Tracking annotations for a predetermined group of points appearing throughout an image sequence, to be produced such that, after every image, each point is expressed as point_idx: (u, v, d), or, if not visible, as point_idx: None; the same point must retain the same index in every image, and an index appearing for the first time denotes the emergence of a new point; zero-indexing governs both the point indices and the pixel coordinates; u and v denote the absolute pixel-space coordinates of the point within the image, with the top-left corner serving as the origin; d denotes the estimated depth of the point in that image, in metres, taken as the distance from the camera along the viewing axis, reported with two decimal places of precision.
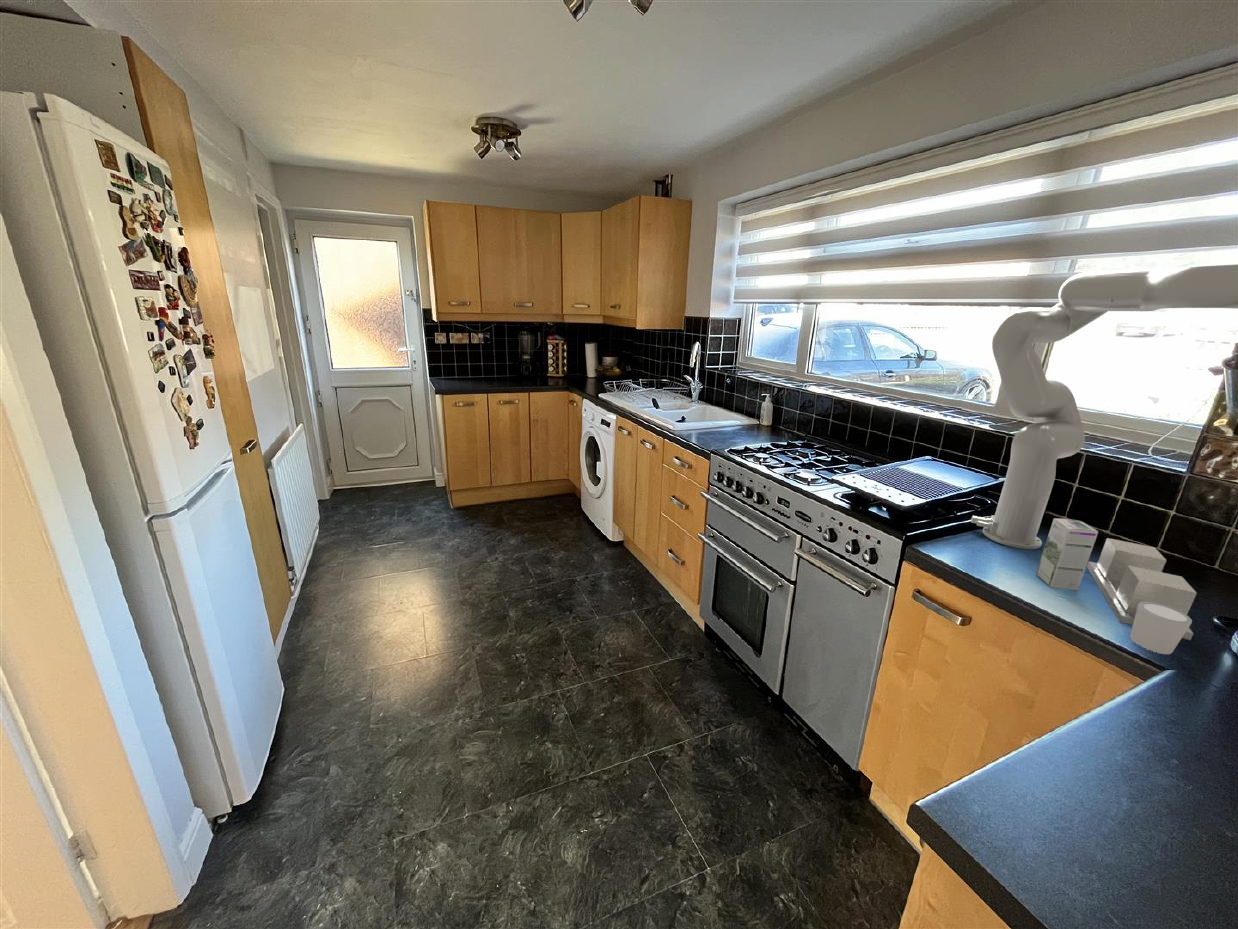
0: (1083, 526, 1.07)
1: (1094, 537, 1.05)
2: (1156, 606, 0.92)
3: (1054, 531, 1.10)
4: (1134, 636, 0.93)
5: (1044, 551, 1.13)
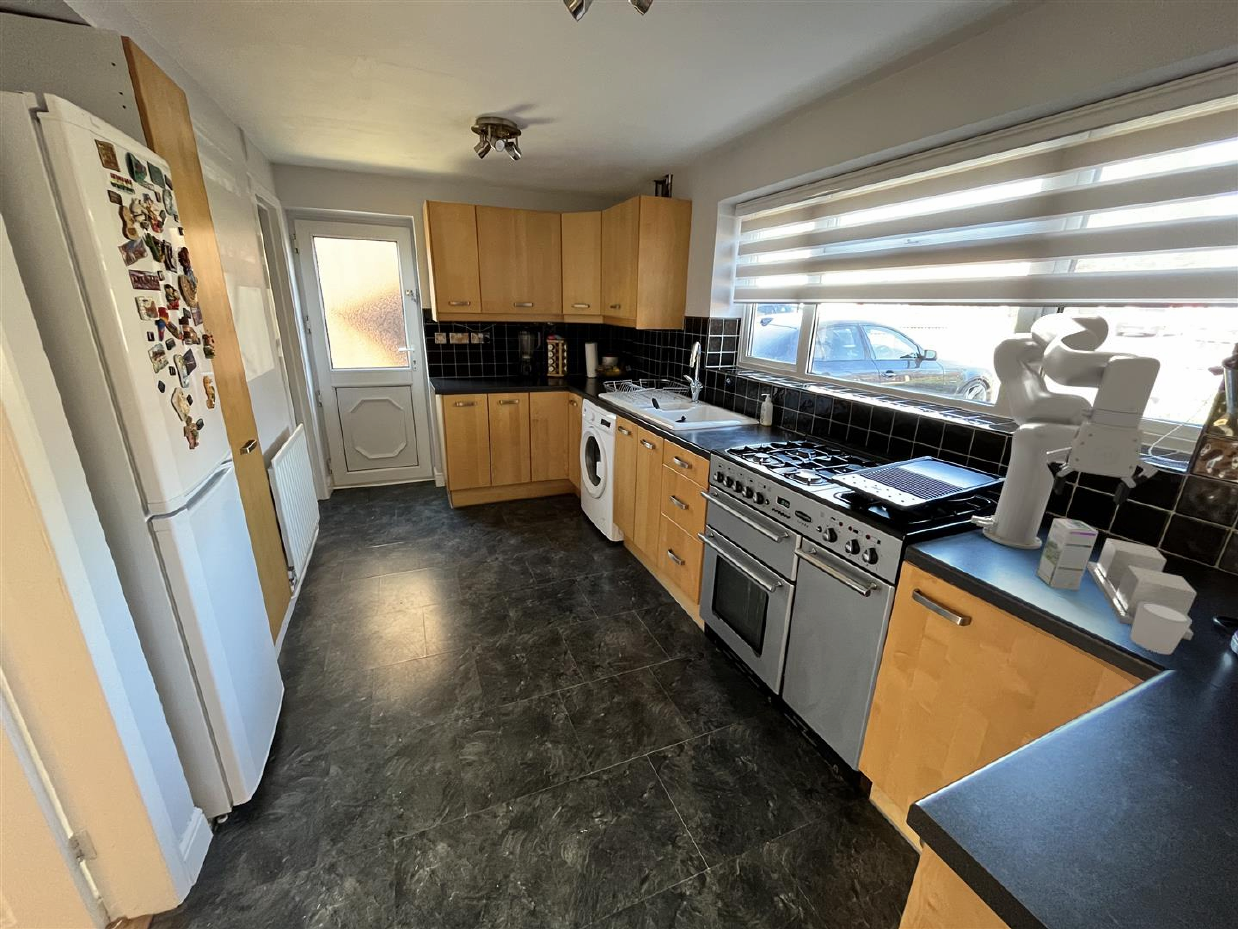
0: (1083, 526, 1.07)
1: (1094, 537, 1.05)
2: (1156, 606, 0.92)
3: (1054, 531, 1.10)
4: (1134, 636, 0.93)
5: (1044, 551, 1.13)
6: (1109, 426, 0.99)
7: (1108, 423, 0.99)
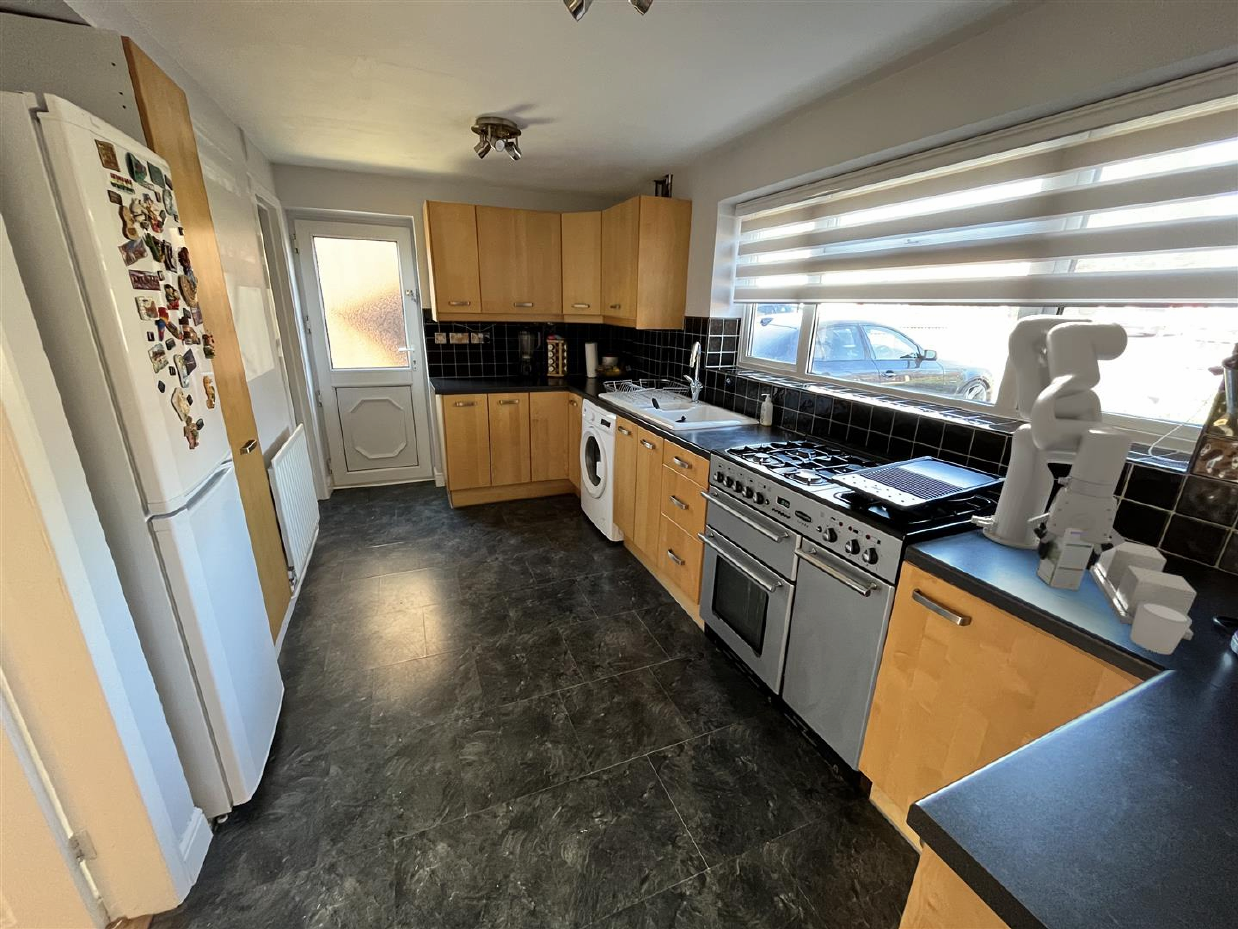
0: None
1: None
2: (1156, 606, 0.92)
3: None
4: (1134, 636, 0.93)
5: None
6: (1084, 496, 1.03)
7: (1083, 493, 1.03)
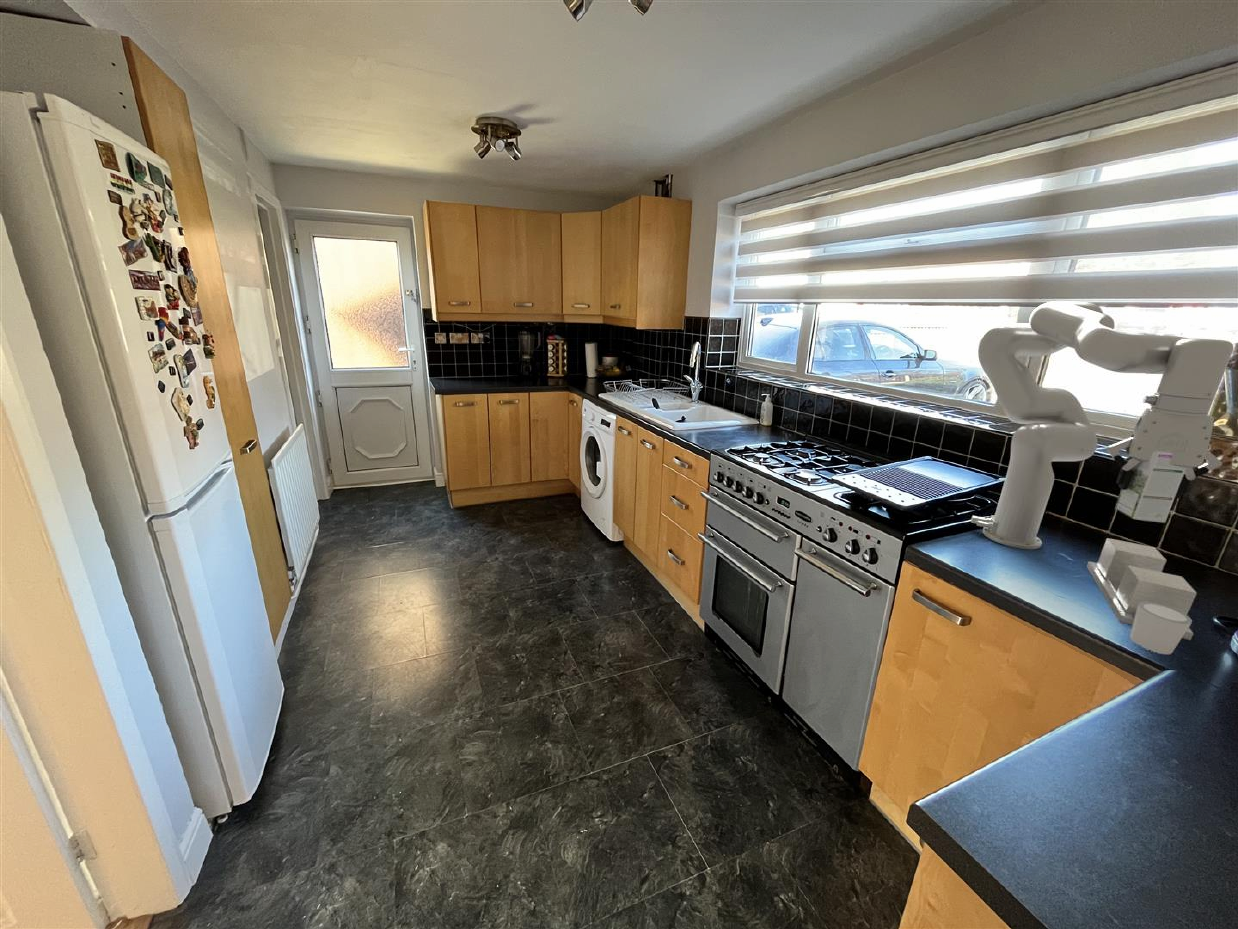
0: None
1: None
2: (1156, 606, 0.92)
3: None
4: (1134, 636, 0.93)
5: None
6: (1176, 413, 0.94)
7: (1174, 409, 0.94)
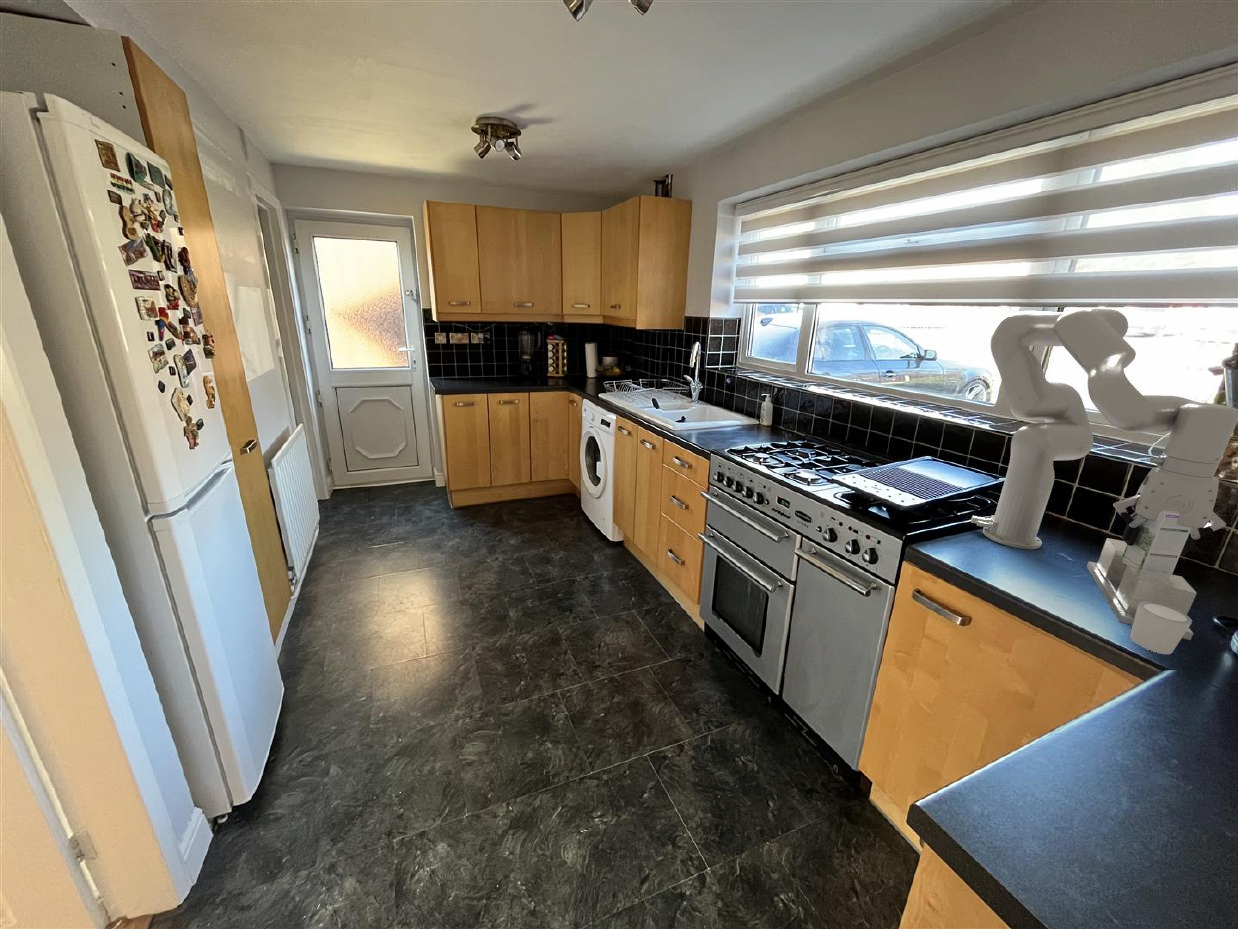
0: None
1: None
2: (1156, 606, 0.92)
3: None
4: (1134, 636, 0.93)
5: None
6: (1183, 475, 0.96)
7: (1182, 472, 0.96)
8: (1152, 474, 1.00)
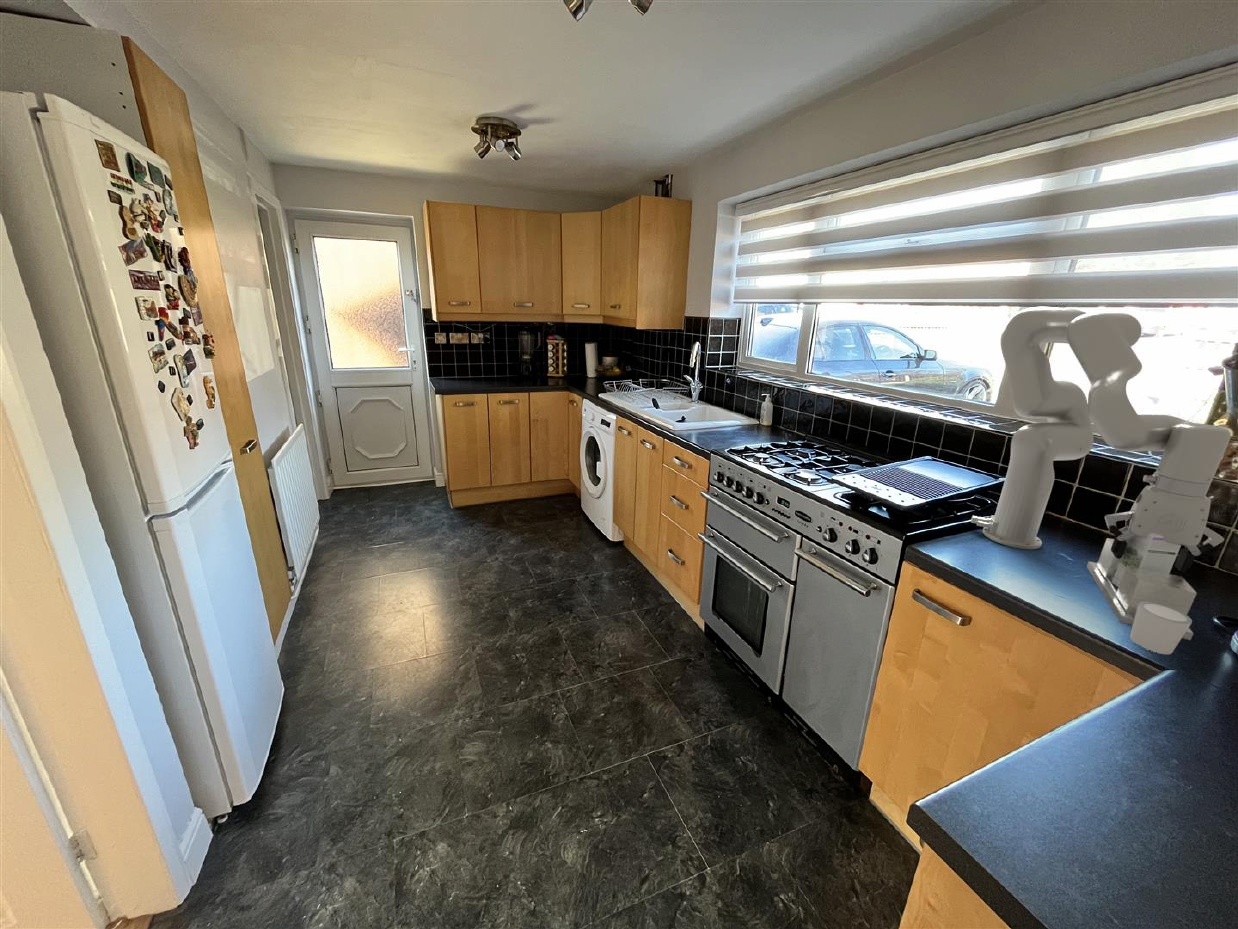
0: None
1: None
2: (1156, 606, 0.92)
3: (1133, 537, 1.05)
4: (1134, 636, 0.93)
5: (1121, 558, 1.07)
6: (1175, 495, 0.97)
7: (1174, 492, 0.97)
8: (1145, 493, 1.01)
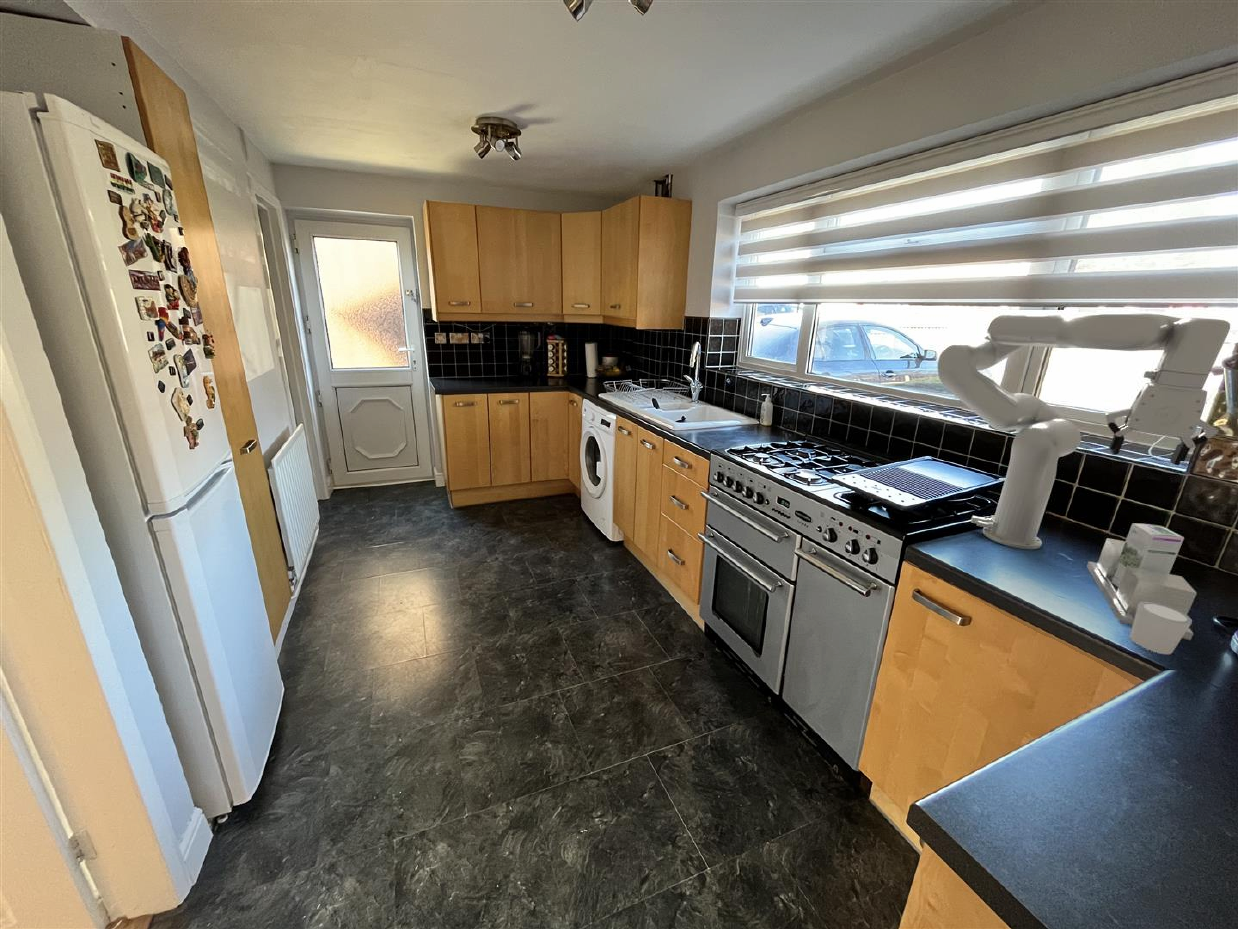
0: (1166, 532, 1.01)
1: (1179, 543, 1.00)
2: (1156, 606, 0.92)
3: (1133, 537, 1.05)
4: (1134, 636, 0.93)
5: (1121, 558, 1.07)
6: (1172, 387, 1.02)
7: (1172, 384, 1.02)
8: (1144, 388, 1.06)
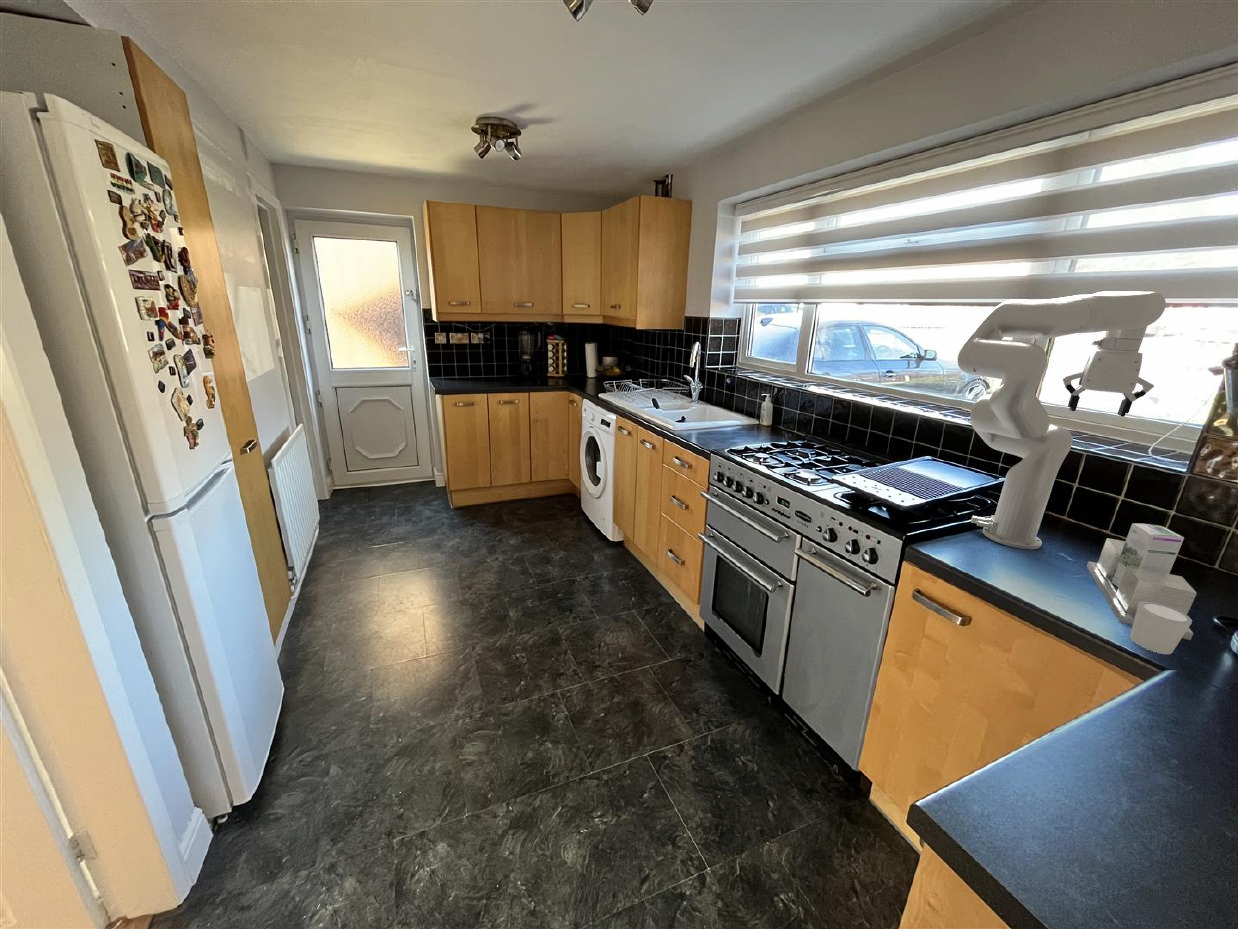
0: (1166, 532, 1.01)
1: (1179, 543, 1.00)
2: (1156, 606, 0.92)
3: (1133, 537, 1.05)
4: (1134, 636, 0.93)
5: (1121, 558, 1.07)
6: (1115, 350, 1.23)
7: (1114, 348, 1.23)
8: (1093, 353, 1.27)
